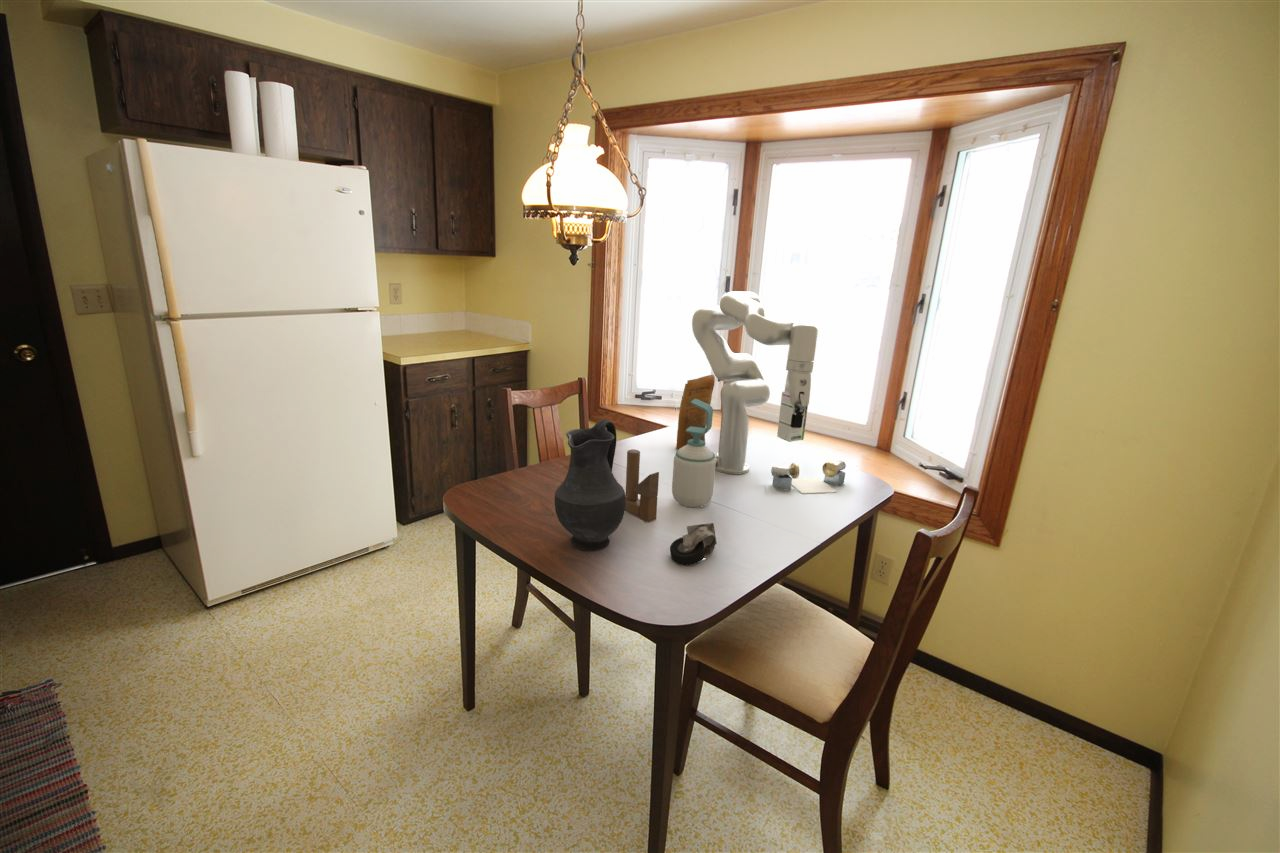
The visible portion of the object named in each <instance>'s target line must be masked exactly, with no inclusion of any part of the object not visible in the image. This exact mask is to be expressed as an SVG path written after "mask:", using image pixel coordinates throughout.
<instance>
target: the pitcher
mask: <svg viewBox="0 0 1280 853" xmlns="http://www.w3.org/2000/svg"><path fill="white" fill-rule="evenodd" d="M565 435H566V437H567V445H568V447H569V448H570V456H569V457H570V459H569V463H568V464H569V465H568V470H567V472H566V473H567V474H566V476H565V477H564V480H563V481H562V483H561V484H560V485H559V486H558V487H557V488H556V489H555V491H554V492H555V493H554V509H555V510H554V511H555V514H556V516H557V520H558V521H559V523H560V524H561V526H562V527H563V528H564V529H565V530H566V531H567V532H568V533H570V534H571V535H572V537H571V539H570V545H571V546H572V547H573V548H575V549H577V550H579V551H580V550H581V551H584V552H585V551H587V552H588V551H589V552H591V551H598V550H602V549H604V548H606V547H608V546H609V545H610V542H611V541H610V540H611V539H610V538H609V537H610V536H611V535H612V534H613V533H614V532H615V531H616V530H617V529H618V528H619V526H620V525H621V523H622V521H623V518H624V515H625V513H626V511H625V504H626V498H625V495H626V490H625V489H624V487H623V485H621V483H619V482H618V480H617V478H616V477H615V475H614V473H613V465H614V459H615V455H616V447H617V429H616V426H615V424H614V422H613V421H611V420H609V419H608V420H607V419H600V420H598V421H597V422H596V423H595V424H594V425H593V426H592V427H590V428H589V427H588V428H576V429H571V430H568V431H567V432H566V433H565Z"/></svg>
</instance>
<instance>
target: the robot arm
mask: <svg viewBox="0 0 1280 853" xmlns="http://www.w3.org/2000/svg"><path fill="white" fill-rule="evenodd" d="M766 312H767V311H766V308H765V306H764V305H763V304H762V300H761V298H760V296H759V295H758V294H757V293H755V292H753V291H737V290H736V291H735V290H734V291H729V292H727V293H724V294H723V295H722V296H721V298H720V300H719V303H718V305H705V306H702V307H700V308H698V309H696V310H695V311H694V313H693V315H692V317H691V328H692V333H693V336H694V338H695V340H696V342H697V343H698V345H699V346H700V348H701V349H702V351H703V352H704V354H705V356H706V359H707V361H708V364H709V366H710V368H711V369H712V372H713V375H714V377H716V379H717V380H719V381H721V382H725V383H724V384H723V385H722V387H721V389H720V402H721V404H720V406H721V415H720V416H721V418H720V419H721V420H720V429H719V439H718V440H719V441H718V451H717V452H716V453H715V458H716V466H715V471H717V472H720V473H723V474H726V475H727V474H728V475H741V474H742V475H743V474H745V473H748V472H749V470H750V466H749V464H748V463H746V459H747V458H746V457H747V449H748V448H747V446H748V437H749V428H750V427H749V425H750V419H749V415H748V413H747V410H746V408H750V407H758V406H763V405H764V404H766V403H767V402H768V401H769V398H770V397H771V396H770V395H771V392H770V387H769V386H770V385H769V384H768V381H767V380H766V378H765V376H764V373H763V372H762V370H761V368H760V366H759V364H758V361H756V358H754V357H753V356H752V355H750V354H749V353H745V352H742V353H741V352H739V353H735V352H733V351H732V350H731V349H730V347H729V345H728V342H727V341H726V340H725V338H724V337H722V335H721V334H719V333H718V332H717V331H731V330H735V329H738V328H740V327H741V326H744V329H745V331H746V334H747V335H748V336H749V337H750V338H751V339H753V340H755V341H756V342H758V343H760V344H762V345H766V346H786V345H787V346H788V349H787V350H788V352H787V358H786V359H787V360H786V366H785V370H786V371H787V374H786V380H785V384H784V392H789V393H790V403H791V404H792V405H793V406H794V408H793V414H792V418H791V427H792V428H801V427H802V421H803V415H804V411H805V407H806V406H808V407H809V404H810V396H811V384H812V383H811V382H812V373H813V369H814V362H815V355H816V349H817V348H816V347H817V341H818V335H819V327H818V326H817V325H816V324H813V323H807V322H802V321H799V320H797V319H784V318H783V319H778V318H777V319H769V318H766ZM796 401H797V402H799V403H800V404H796ZM796 407H798V408H797V410H796Z"/></svg>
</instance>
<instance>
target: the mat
mask: <svg viewBox="0 0 1280 853" xmlns="http://www.w3.org/2000/svg"><path fill="white" fill-rule="evenodd" d="M791 487H794V489H796V490H797V491H798V492H799V493H800V494H802V495H804V494H805V495H806V494H833V493H835V494H836V493H837V491H836V490H835V489H834V488H832V487H831V486H830V485H828V484H827V482H824V480H821V478H819V477H805V478H804V477H803V478H800V477H798V478H797V479H793V478H792V482H791Z"/></svg>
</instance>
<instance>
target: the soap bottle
mask: <svg viewBox="0 0 1280 853" xmlns="http://www.w3.org/2000/svg"><path fill="white" fill-rule="evenodd" d="M691 404H692V405H694V406H696V407H699V408H701V409H703V410H704V411H706V414H707V421H706V428H700V427H693V426H691V427H689V428H688V429H686V432H688V433H691V435H692V436H693V439H690V440H688V443H687V445H686V446H684V447H682V448H680V449H679V450H678V449H676V452H675V455H674V458H673V468H672V469H673V470H672V483H671V486H672V487H671V494H672V496H673V500H675V502H676V503H678V505H680V504H681V505H680V506H682V507H685V506H686V507H685V508H690V507H691V508H692V509H697V508H698V507H699V508H702V506H703V507H705V506H706V505H708V504H709V503H710V502H711V500H712V498H713V496H714V489H715V488H714V487H715V486H714V485H715V477H716V476H715V474H716V470H715V466H716V458H715V455H716V453H714V452H713V451H712V450H711V449H710V448H708V447H707V446H706V440H705V441H703V440H700V437H701V436H703V435H704V434H705V435H706V434H707V433H708V432H709V431H710V430H711V429H712V427H713V426H712V424H713V415H714V408H713V406H711V404H710V405H709V404H707V403H705V402H702V401H700V400H698V399H694V400H692V401H691ZM691 508H690V509H691ZM699 508H698V509H699Z"/></svg>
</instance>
